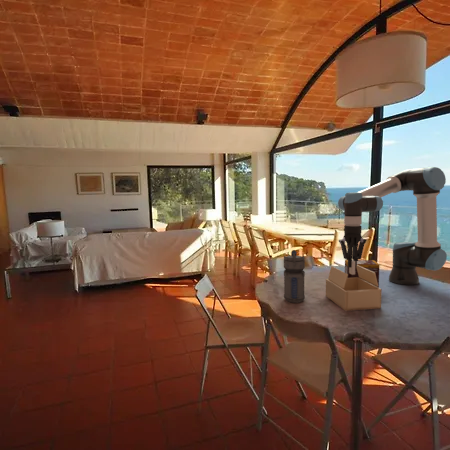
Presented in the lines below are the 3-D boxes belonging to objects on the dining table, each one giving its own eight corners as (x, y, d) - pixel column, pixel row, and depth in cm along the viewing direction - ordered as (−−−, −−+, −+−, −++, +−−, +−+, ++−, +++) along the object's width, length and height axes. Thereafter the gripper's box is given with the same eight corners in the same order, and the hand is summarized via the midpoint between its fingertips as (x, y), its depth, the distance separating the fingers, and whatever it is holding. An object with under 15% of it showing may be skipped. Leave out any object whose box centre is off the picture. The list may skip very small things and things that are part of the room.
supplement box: (379, 293, 156) (379, 264, 154) (347, 292, 159) (348, 263, 157) (373, 287, 166) (374, 260, 164) (344, 286, 169) (344, 259, 167)
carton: (357, 293, 156) (357, 277, 155) (381, 308, 136) (382, 289, 135) (325, 295, 155) (325, 278, 154) (345, 311, 134) (345, 291, 133)
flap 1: (328, 278, 151) (332, 266, 151) (344, 288, 136) (348, 274, 135) (328, 278, 151) (331, 266, 151) (343, 288, 136) (346, 274, 135)
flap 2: (359, 276, 153) (356, 264, 152) (378, 285, 137) (375, 272, 136) (358, 277, 153) (355, 265, 152) (377, 286, 137) (374, 272, 136)
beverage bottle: (304, 295, 156) (304, 248, 153) (305, 304, 143) (305, 253, 141) (284, 294, 158) (283, 248, 156) (283, 303, 145) (283, 253, 143)
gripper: (361, 223, 146) (360, 271, 148) (335, 224, 144) (335, 272, 147) (370, 225, 138) (369, 275, 141) (343, 226, 137) (342, 276, 139)
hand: (352, 273), depth 144 cm, fingers closed
